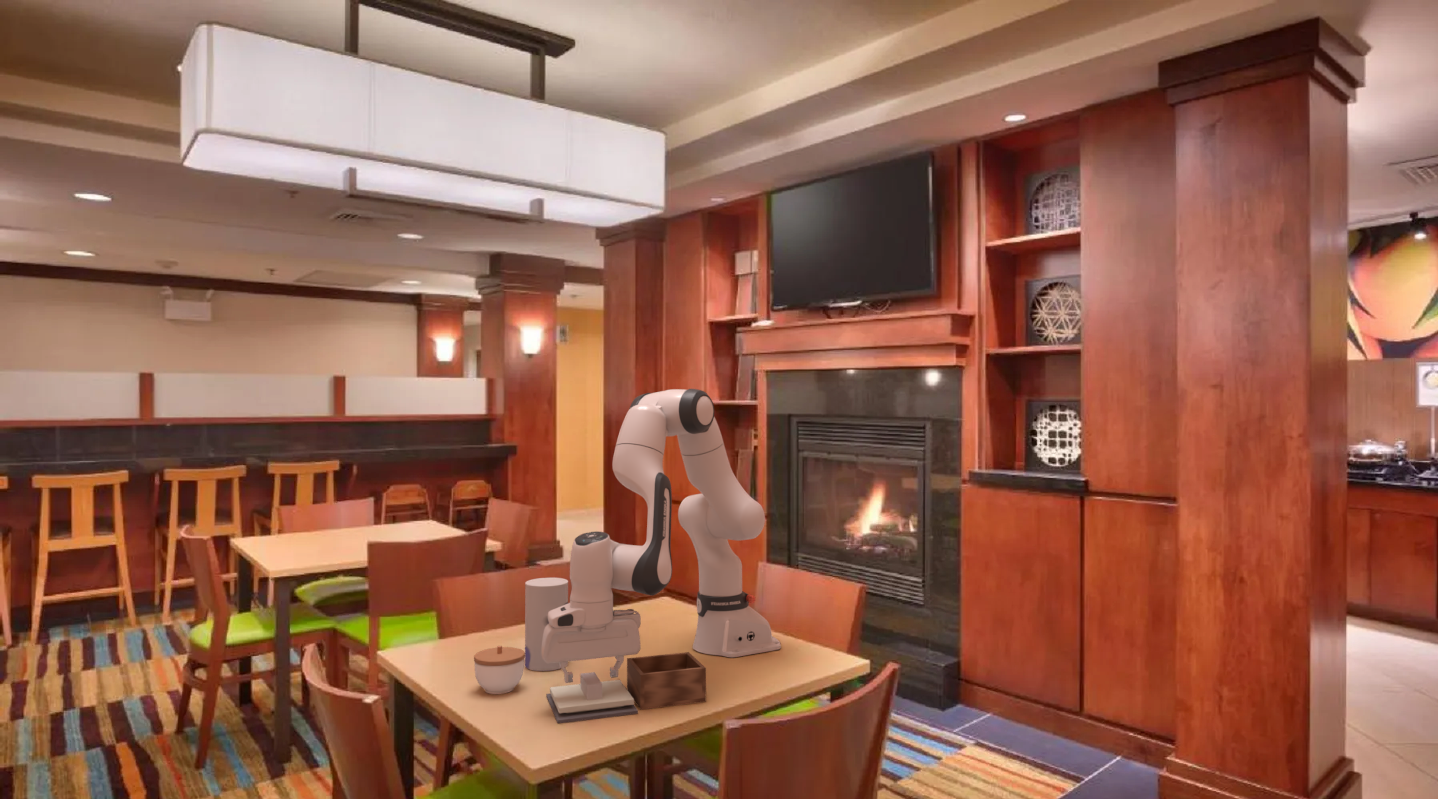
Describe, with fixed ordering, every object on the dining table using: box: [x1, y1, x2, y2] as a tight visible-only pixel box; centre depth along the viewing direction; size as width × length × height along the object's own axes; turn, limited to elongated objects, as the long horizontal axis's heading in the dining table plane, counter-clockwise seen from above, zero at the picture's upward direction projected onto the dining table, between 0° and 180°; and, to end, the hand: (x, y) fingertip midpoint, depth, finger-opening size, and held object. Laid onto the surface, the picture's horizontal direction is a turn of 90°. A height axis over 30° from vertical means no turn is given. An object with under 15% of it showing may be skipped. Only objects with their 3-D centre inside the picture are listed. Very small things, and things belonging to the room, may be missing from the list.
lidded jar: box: [473, 645, 525, 695], centre depth 180 cm, size 11×11×9 cm
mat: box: [546, 692, 639, 724], centre depth 171 cm, size 16×16×1 cm
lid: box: [549, 671, 635, 713], centre depth 171 cm, size 15×13×5 cm
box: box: [626, 651, 707, 710], centre depth 176 cm, size 14×12×7 cm
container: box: [524, 577, 569, 672], centre depth 198 cm, size 10×10×20 cm
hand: (591, 679), depth 171 cm, fingers open, 8 cm apart
